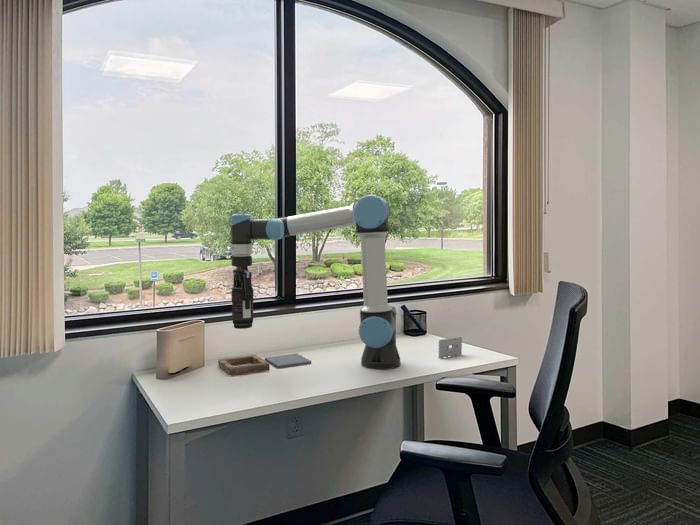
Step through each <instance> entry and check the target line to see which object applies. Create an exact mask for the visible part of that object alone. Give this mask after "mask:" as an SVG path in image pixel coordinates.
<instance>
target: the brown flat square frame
mask: <svg viewBox="0 0 700 525" xmlns="http://www.w3.org/2000/svg"><path fill="white" fill-rule="evenodd" d="M217 360H218V362H217V363H218V367H219V368H220V367H221V368H220V369H221V370H222V371H224V372H225V371H226V372H227V373H226V372H225V373H226V374H227V375H229V376H230V375H232V376H237V375H238V374H239V375H245V374H252V373H258V372H266V371H270V363H268V362H267V361H265V359H263V358H261V357H260V356H258V355H257V354H249V355H242V356H237V357H236V356H235V357H228V358H221V359H217ZM239 364H240V365H239Z"/></svg>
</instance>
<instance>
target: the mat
mask: <svg viewBox="0 0 700 525" xmlns="http://www.w3.org/2000/svg"><path fill="white" fill-rule="evenodd" d="M264 360H265V361H266V362H268V363H269V365H272V366H273V367H275V368H276V369H282V368H283V369H284V368H289V367H297V366H304V365H310V364H311V365H312V360H310V359H308V358H306V357H304V356H303V355H301V354H299V353H298V352H297V353H289V354H282V355H275V356H267V357H264Z"/></svg>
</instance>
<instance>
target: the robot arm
mask: <svg viewBox="0 0 700 525" xmlns="http://www.w3.org/2000/svg"><path fill="white" fill-rule="evenodd" d="M390 214H391V208H390V205H389V203H388V202H387V200H386V199H385V198H383V197H381V196H379V195H377V194H365V195H362V197H360V198H359V199H358V200H357V201H355V202H352V203H351V205H347V206H342V207H341V206H340V207H336V208H330V209H325V210H318V211H313V212H309V213H301V214H296V215H290V216H285V217H284V216H283V217H278V218H261V219H260V218H257V219H256V218H252V214H250V213H233V214H232V215H231V216H230V226H229V227H230V243H231V246H230V247H229V249H230V250H231V258H230V259H231V266H232V267H236V269H233V270H232V272H233V286H232V288H233V287H237V288H239V287H242V291H243V299H242V301H243V318H251V308H250V300H251V299H253V296H252V288H253V285H252V272H251V271H249V270H248V269H249V267H251V266H252V265H253V257H252V254H253V240H272V241H274V240H282V239H283V238H286V237H291V236H297V235H299V236H300V235H304V234H309V233H311V234H312V233H315V232H321V231H327V230H334V229H339V228H346V227H352V226H353V227H355V234H356V235H357V236H358V237H359V239H360V250H361V251H360V252H361V269H362V270H361V272H362V273H361V274H362V293H363V295H362V296H363V305H362V306H361V307H360V309H359V317H360V318H359V320H360V324H359V327H358V328H359V329H358V335H359V338H360V340H361V341H362V343H364V348H363V352H362V356H361V358H360V359H361V361H360V364H361V365H362V367H365V368H367V369H368V368H369V369H374V370H388V369H390V368H391V369H396V368H398V367H400V366H401V357H400V354H399V351H398V347H397V337H396V336H397V315H398V314H397V309H396V306H394V305H389V303H388V281H387V263H386V262H387V260H386V259H387V258H386V236H387V235H388V234H389V232H390V231H389V219H390V218H389V217H390ZM253 300H254V299H253ZM399 365H400V366H399Z"/></svg>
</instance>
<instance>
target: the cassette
mask: <svg viewBox="0 0 700 525" xmlns="http://www.w3.org/2000/svg"><path fill="white" fill-rule="evenodd" d="M462 342H463V338H462V336H455V337H447V338H442V339H438V359H439V358H442V357H448V356H455V355H459V354H461V355H462V352H463V351H462V347H463V345H462V344H463V343H462ZM459 356H460V355H459ZM455 357H456V356H455ZM442 359H443V358H442Z"/></svg>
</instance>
